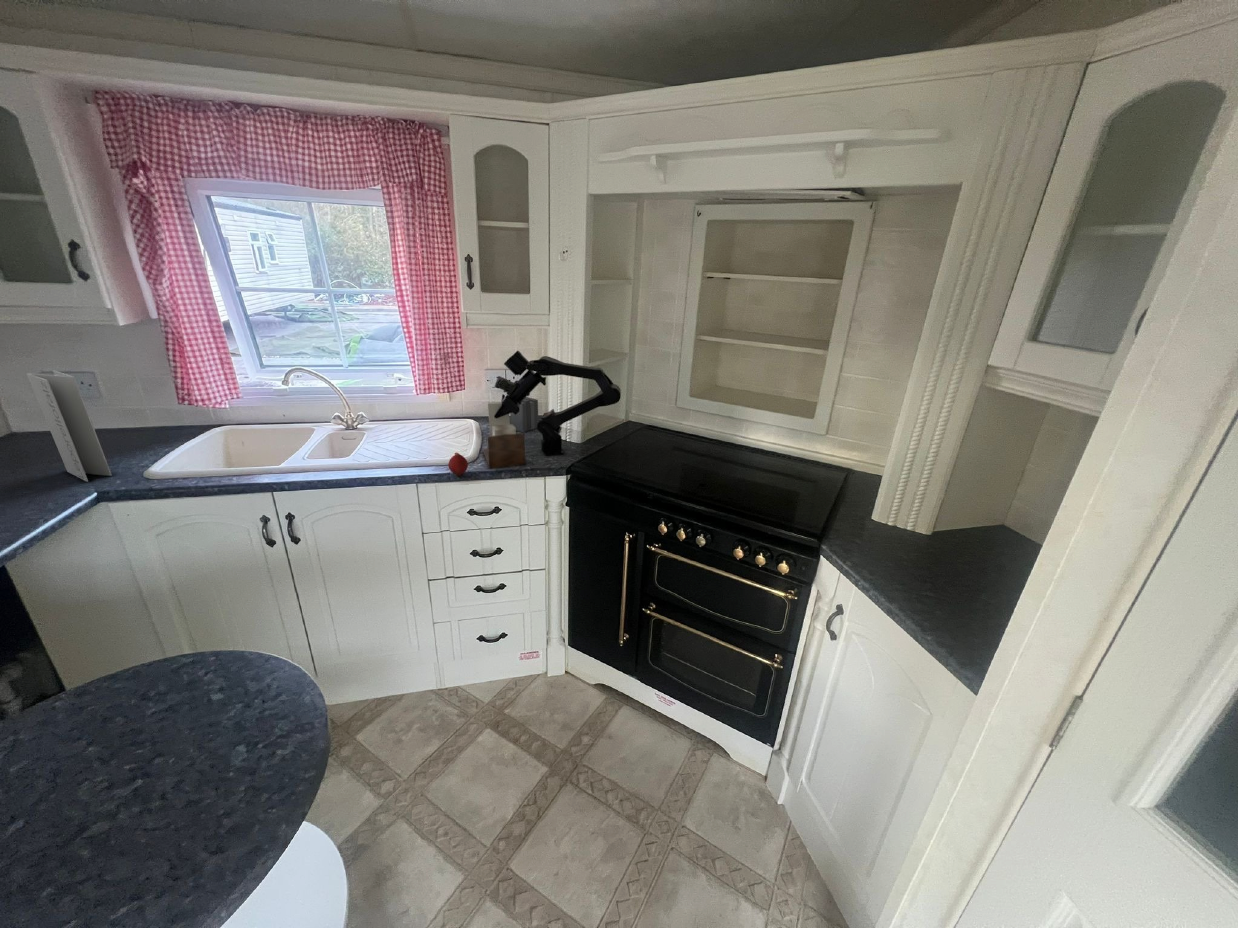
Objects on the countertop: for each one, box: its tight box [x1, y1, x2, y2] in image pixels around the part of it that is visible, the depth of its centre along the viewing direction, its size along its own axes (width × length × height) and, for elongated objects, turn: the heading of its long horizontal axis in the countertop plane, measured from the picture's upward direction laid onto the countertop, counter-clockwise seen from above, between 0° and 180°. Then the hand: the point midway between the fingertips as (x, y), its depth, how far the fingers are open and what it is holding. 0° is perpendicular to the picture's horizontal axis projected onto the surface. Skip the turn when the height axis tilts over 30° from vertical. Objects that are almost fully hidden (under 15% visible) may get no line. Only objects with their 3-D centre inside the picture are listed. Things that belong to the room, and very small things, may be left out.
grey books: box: [509, 396, 539, 433], centre depth 203 cm, size 9×7×13 cm
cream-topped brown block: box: [482, 423, 526, 469], centre depth 171 cm, size 12×16×13 cm
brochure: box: [26, 370, 113, 483], centre depth 143 cm, size 14×6×30 cm, turn 62°
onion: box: [448, 451, 469, 477], centre depth 157 cm, size 6×6×8 cm
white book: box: [487, 401, 511, 436], centre depth 174 cm, size 2×7×12 cm, turn 100°
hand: (495, 416), depth 173 cm, fingers closed on white book, 2 cm apart
